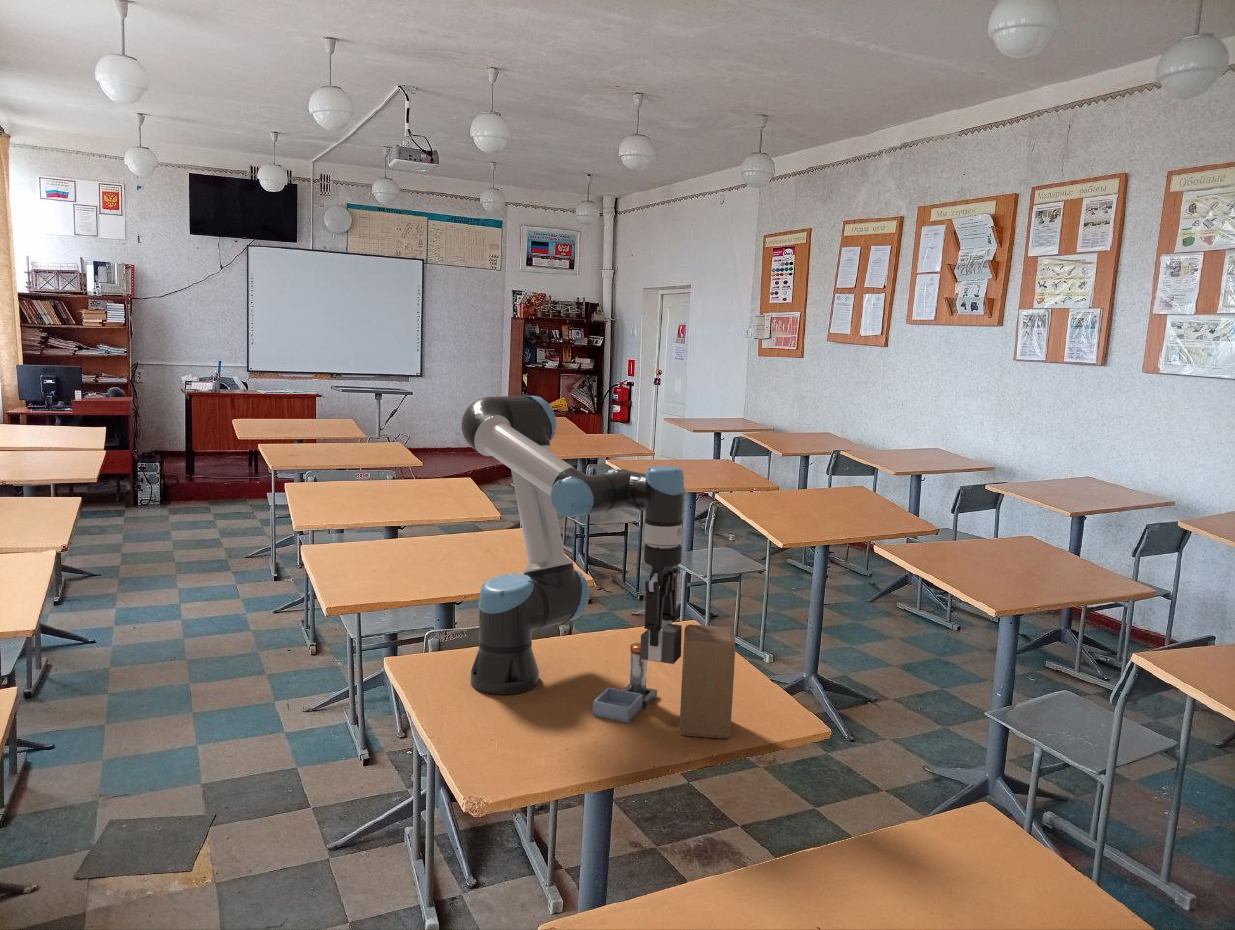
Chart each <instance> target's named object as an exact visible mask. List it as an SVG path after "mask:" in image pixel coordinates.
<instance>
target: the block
mask: <svg viewBox="0 0 1235 930" xmlns="http://www.w3.org/2000/svg"><path fill="white" fill-rule="evenodd" d="M735 637H736V636H735V630H734V628H732V627H730V626H721V625H720V626H718V625H716V626H715V625H705V624H704V625H702V624H686V626H685V627H684V634H683V646H682V647H683V651H682V671H681V687H680V688H681V690H680V691H681V692H680V707H679V708H680V710H679V711H680V712H679V729H678V730H679V733H680V734H681V735H683V736H687V737H688V736H690V737H701V738H713V739H716V738H717V739H728V738H729V737H730V736H731V730H732V728H731V727H732V713H733V696H734V695H733V693H734V679H735V665H736V664H735V662H736V661H735V660H736V648H737V647H736V638H735Z"/></svg>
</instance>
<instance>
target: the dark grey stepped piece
mask: <svg viewBox="0 0 1235 930" xmlns="http://www.w3.org/2000/svg"><path fill="white" fill-rule="evenodd" d="M682 628H683V625H681V624H675V623H674V624H673V623H672V624H667V625H666V626H664V627H663V628H662V629H663V644H662V661H661V662H660V663H662V664H663V663H664V664H670V665H674V664H675V663H676V662H677V661H678V660H679V659H680V658H681V657H682V636H683V635H682V633H683V632H682V631H683V629H682ZM640 643H641V656H640V659H643V660H647V661H650V662H653V661H652V660H648V644H649V629H645V631H644V632H643V633H642V634H640ZM655 662H658V661H655ZM658 663H659V662H658Z"/></svg>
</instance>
